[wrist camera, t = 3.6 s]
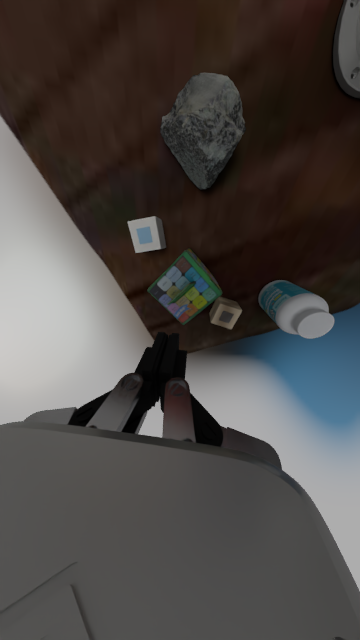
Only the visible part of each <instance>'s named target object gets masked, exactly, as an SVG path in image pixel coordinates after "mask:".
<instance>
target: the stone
mask: <svg viewBox="0 0 360 640" xmlns="http://www.w3.org/2000/svg"><path fill="white" fill-rule="evenodd" d="M160 129H161V135H162V137H163V138H164V140H165V143H166V144H167V146H168V147H169V148H170V149H171V152H172V154H173V155H174V156H175V157H176V158H177V160H178V162H179V163H180V164H181V166H182V167H183V169H184V170H185V172H186V174H187V175H188V177H189V178H190V179H191V181H192V182H193V183H194V184H195V185H196V186H197V187H198V188H199V189H200V190H202V189H207V188H209V187H211V185H212V184H213V183H214V182H215V180H216V178H217V176H218V174H219V173H220V172H221V171H222V170H223V169H224V167H225V165H226V164H227V162H228V160H229V158H230V157H231V155H232V154H233V151H234V150H235V148H236V146H237V144H238V142H239V141H240V139H241V137H242V135H243V134H244V132H245V130H246V128H245V122H244V119H243V117H242V102H241V99H240V95H239V92H238V90H237V89H236V87H235V86H234V83H233V82H232V81H231V80H230V79H229V77H228V76H223V75H221V74H220V75H217V74H215V73H200V74H199V75H197V76H196V75H194V76H193V77H192V78H191V79H190V80H189V81H188V82H187V84H186V86H185V87H184V88H183V90H182V91H180V92H179V94H178V96H177V99H176V102H175V103H174V104H173V108H172V109H171V111H170V113H169V114H168V115H167V116H163V117H162V124H161V128H160Z"/></svg>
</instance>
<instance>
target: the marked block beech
mask: <svg viewBox="0 0 360 640" xmlns="http://www.w3.org/2000/svg"><path fill="white" fill-rule="evenodd" d="M241 312H242V310H241V308H240V306H239V305H238V303H237V302H235V301H232V300H229V299H226V298H223V297H220V296H219V297H218V298H217V299H216V300H215V302H214V304H213V306H212V309H211V311H210V313H209V314H210V320H211V323H213V324H216V325H219V326H223V327H226V328H229V329H232V327H233V326H234V324H235V322H236V321H237V319H238V317H239V315H240V314H241Z"/></svg>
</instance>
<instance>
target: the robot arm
mask: <svg viewBox="0 0 360 640" xmlns="http://www.w3.org/2000/svg"><path fill="white" fill-rule="evenodd" d="M333 66H334V71H335V75H336V79H337V81H338V83H339V85H340V87H341V88H342V89H343V90H344V91H345V92H346V93H347V94H349V95H351V96H353V97H355V98H360V0H344V2H343V5H342V8H341V11H340V14H339V18H338V22H337V27H336V31H335V36H334V46H333ZM186 358H187V351H184V350H179V334H177V333H172V335H169V338H168V334H166V333H165V332H158V334H157V337H156V339H155V341H154V344H153V346H152V347H147V348H146V349H145V352H144V354H143V356H142V358H141V360H140V362H139V364H138V366H137V368H136V370H135V373H129V374H127V375H125V376H124V377H123V378H121V380H120V381H119V382H118V384H117V385H116V386H115V388H114V389H113V390H111V391H109V392H107V393H105V394H104V395H102V396H100V397H98V398H96V399H95V400H93V401H91V402H89V403H87V404H85V405H84V406H82V407H80V408H79V409H77V408H76V407H72V408H64V409H55V410H46V411H40V412H36V413H34V414H32V415H30V416H29V417H28V418H26V419H25V420H24V421H22V422H12V423H7V424H3V425H0V640H360V592H359V589H358V587H357V585H356V583H355V581H354V579H353V577H352V574H351V572H350V570H349V568H348V566H347V564H346V562H345V560H344V558H343V556H342V554H341V552H340V550H339V548H338V546H337V544H336V542H335V540H334V538H333V536H332V534H331V533H330V530H329V528H328V526H327V525H326V523H325V521H324V519H323V517H322V516H321V514H320V512H319V511H318V509H317V507H316V506H315V504H314V502H313V501H312V499H311V498H310V497H309V495H308V494H307V493H306V491H305V490H304V489H303V488H302V487H301V486H300V485H299V484H298V483H297V482H296V481H295V480H294V479H293V478H292V477H290V476H289V475H288V474H286V473H285V472H284V471H283V470H282V467H281V462H280V459H279V457H278V454H277V453H276V451H275V450H274V448H272V446H270V445H269V444H268V443H266V442H264V441H262V440H260V439H257V438H255V437H252V436H249V435H247V434H244V433H242V432H239V431H237V430H234V429H231V428H229V427H227V428H224V427H222V426H220V425H219V424H218V422H217V421H216V420H215V419H214V418H213V417H212V416H211V415H210V414H209V413H208V411H207V410H206V409H205V408H204V407H203V406H202V405H201V404H200V403H199V402H198V401H197V400H196V399H195V398H194V396H193V395H192V394H191V393H190V389H189V385H188V383H187V382H186V381H185V370H186ZM159 398H160V402H161V410H162V412H163V413H164V418H163V419H164V420H163V438H159V437H152V436H145V435H138V433H139V430H140V428H141V426H142V424H143V421H144V419H145V417H146V414H147V410H149V409H151V407H152V406H155V403H156V402H158V401H159Z"/></svg>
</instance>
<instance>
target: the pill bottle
mask: <svg viewBox="0 0 360 640" xmlns="http://www.w3.org/2000/svg"><path fill="white" fill-rule="evenodd" d="M258 301H259V304H260V306H261V307H262V309H263V310H264V311H265V312H266V313H267V314H268V315H269V316H270V317H271V318H272V320H273V321H274V322H275V323H276V324H277V325H278V326H279V327H280V328H281V329H282V330H283V331H285V332H287V333H290V334H299V335H300V336H302V337H304V338H317V337H320V336H322V335H324V334H326V333H327V332H328V331H330V330H331V328H332V327H333V325H334V318H333V316H332V315H331V314H329V313H328V312H329V308H328V305H327V303H326V301H325V300H324V299H323V298H321V297H319V296H317V295H315V294H313V293H311V292H309V291H307V290H305V289H303V288H301V287H299V286H297V285H295V284H293V283H290V282H288V281H285V280H276V281H273V282H270V283H269V284H267V285H266V286H265V287H264V288H263V289H262V290H261V292H260V294H259V297H258Z"/></svg>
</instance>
